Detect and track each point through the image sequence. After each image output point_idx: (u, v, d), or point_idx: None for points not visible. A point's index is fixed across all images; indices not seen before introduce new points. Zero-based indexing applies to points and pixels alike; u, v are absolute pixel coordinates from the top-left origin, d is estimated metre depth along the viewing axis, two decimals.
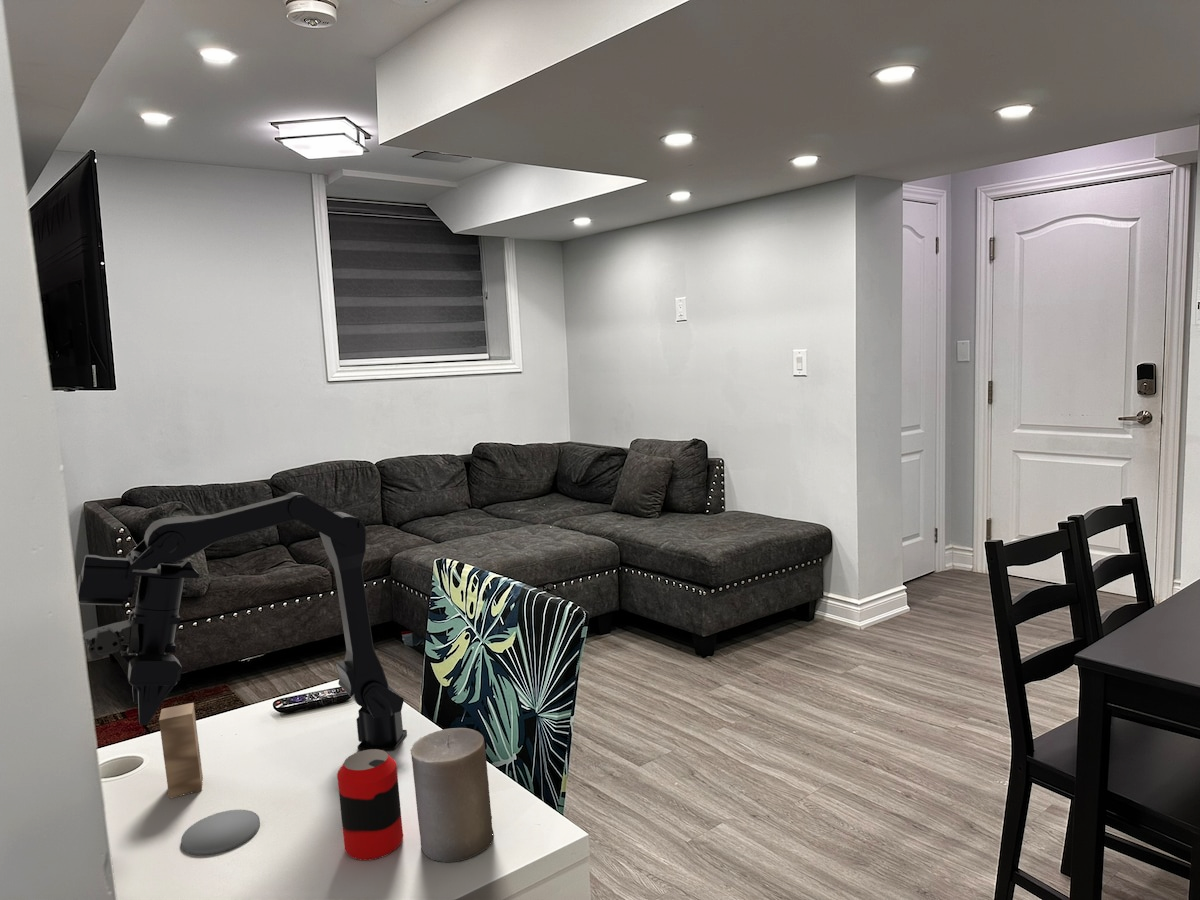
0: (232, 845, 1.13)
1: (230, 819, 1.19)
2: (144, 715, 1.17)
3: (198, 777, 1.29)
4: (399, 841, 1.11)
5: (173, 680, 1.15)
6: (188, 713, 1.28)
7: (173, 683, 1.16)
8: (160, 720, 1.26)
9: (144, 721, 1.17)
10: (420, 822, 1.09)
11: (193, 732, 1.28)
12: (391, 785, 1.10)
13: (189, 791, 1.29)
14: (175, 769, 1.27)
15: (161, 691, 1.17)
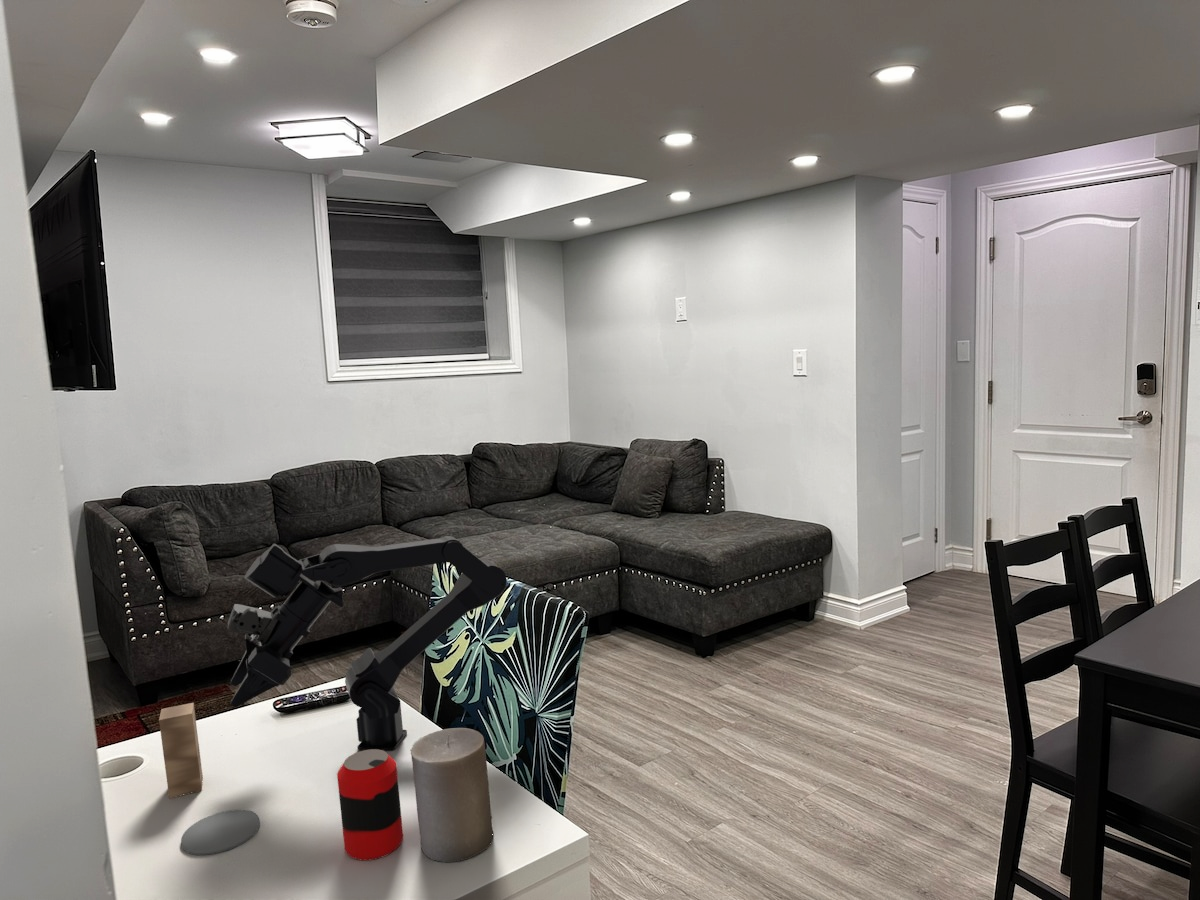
0: (232, 845, 1.13)
1: (230, 819, 1.19)
2: (238, 698, 1.27)
3: (198, 777, 1.29)
4: (399, 841, 1.11)
5: (279, 682, 1.25)
6: (188, 713, 1.28)
7: (276, 684, 1.27)
8: (160, 720, 1.26)
9: (235, 703, 1.27)
10: (420, 822, 1.09)
11: (193, 732, 1.28)
12: (391, 786, 1.10)
13: (189, 791, 1.29)
14: (175, 769, 1.27)
15: (263, 686, 1.28)
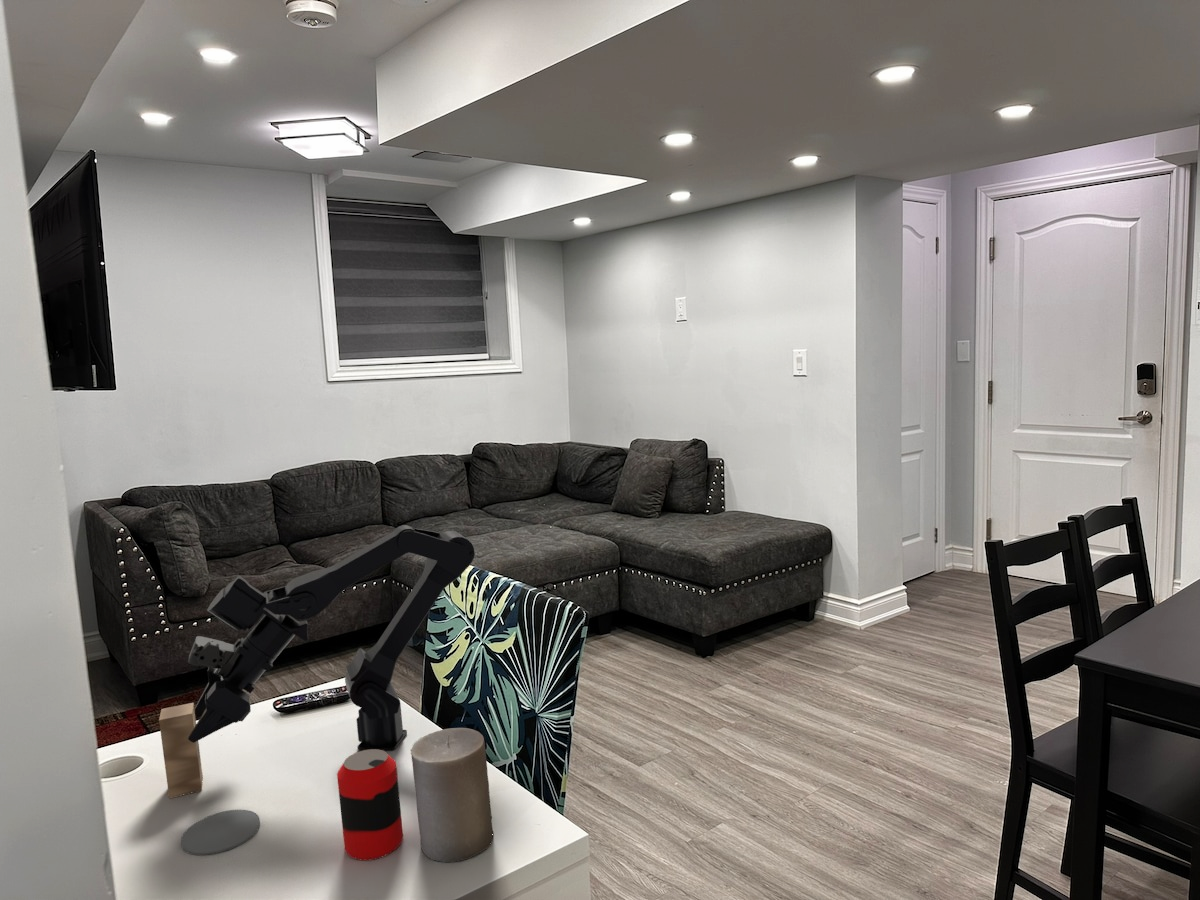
0: (232, 845, 1.13)
1: (230, 819, 1.19)
2: (196, 733, 1.25)
3: (198, 777, 1.29)
4: (399, 841, 1.11)
5: (237, 718, 1.24)
6: (188, 713, 1.28)
7: (235, 720, 1.25)
8: (160, 720, 1.26)
9: (193, 738, 1.26)
10: (420, 822, 1.09)
11: None
12: (391, 785, 1.10)
13: (189, 791, 1.29)
14: (175, 769, 1.27)
15: (221, 721, 1.26)
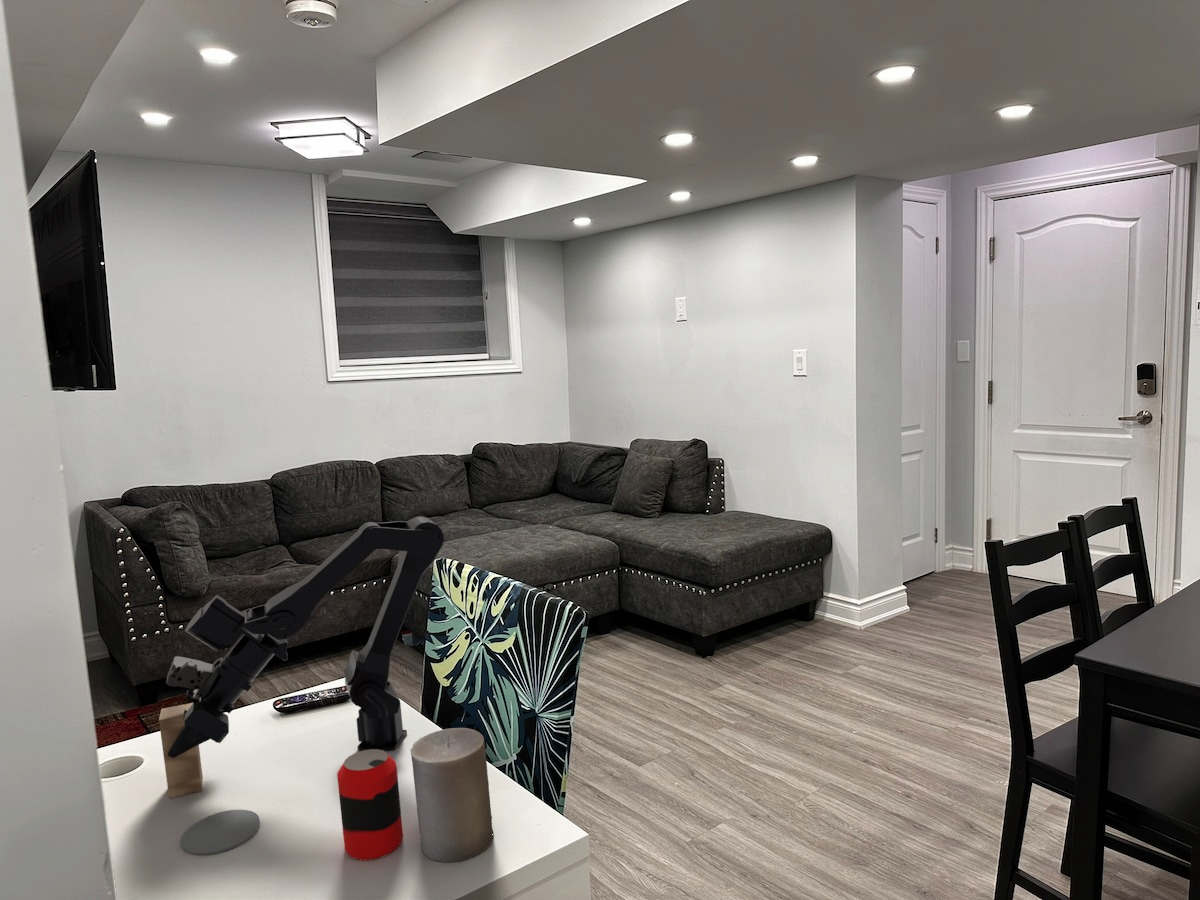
0: (232, 845, 1.13)
1: (230, 819, 1.19)
2: (175, 749, 1.26)
3: (198, 777, 1.29)
4: (399, 841, 1.11)
5: (215, 740, 1.23)
6: None
7: None
8: (160, 720, 1.26)
9: (172, 754, 1.27)
10: (420, 822, 1.09)
11: None
12: (391, 786, 1.10)
13: (189, 791, 1.29)
14: (175, 769, 1.27)
15: (200, 737, 1.27)
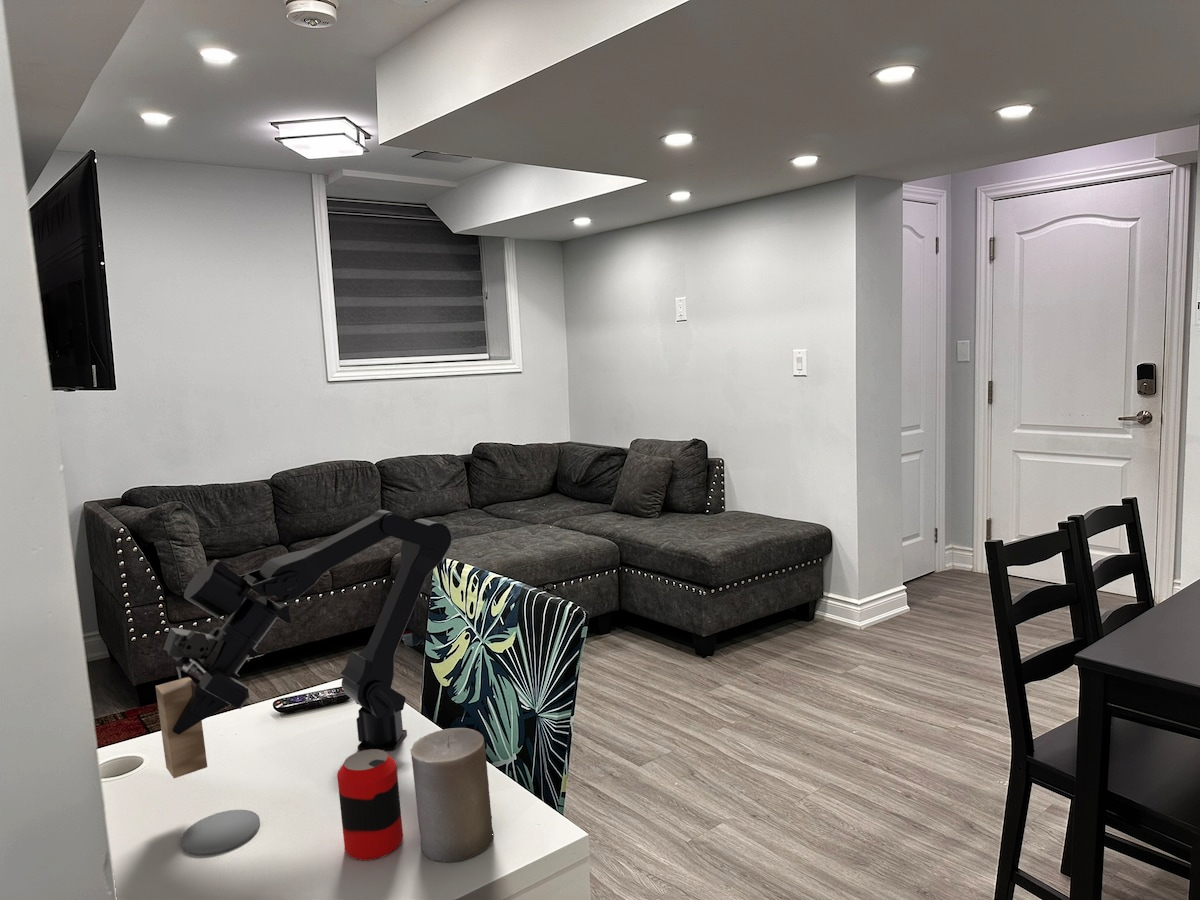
0: (232, 845, 1.13)
1: (230, 819, 1.19)
2: (182, 724, 1.19)
3: (204, 753, 1.22)
4: (399, 841, 1.11)
5: (237, 706, 1.17)
6: None
7: (227, 704, 1.20)
8: (164, 695, 1.18)
9: (178, 730, 1.19)
10: (420, 822, 1.09)
11: None
12: (391, 785, 1.10)
13: (194, 769, 1.21)
14: (179, 747, 1.19)
15: (210, 708, 1.20)
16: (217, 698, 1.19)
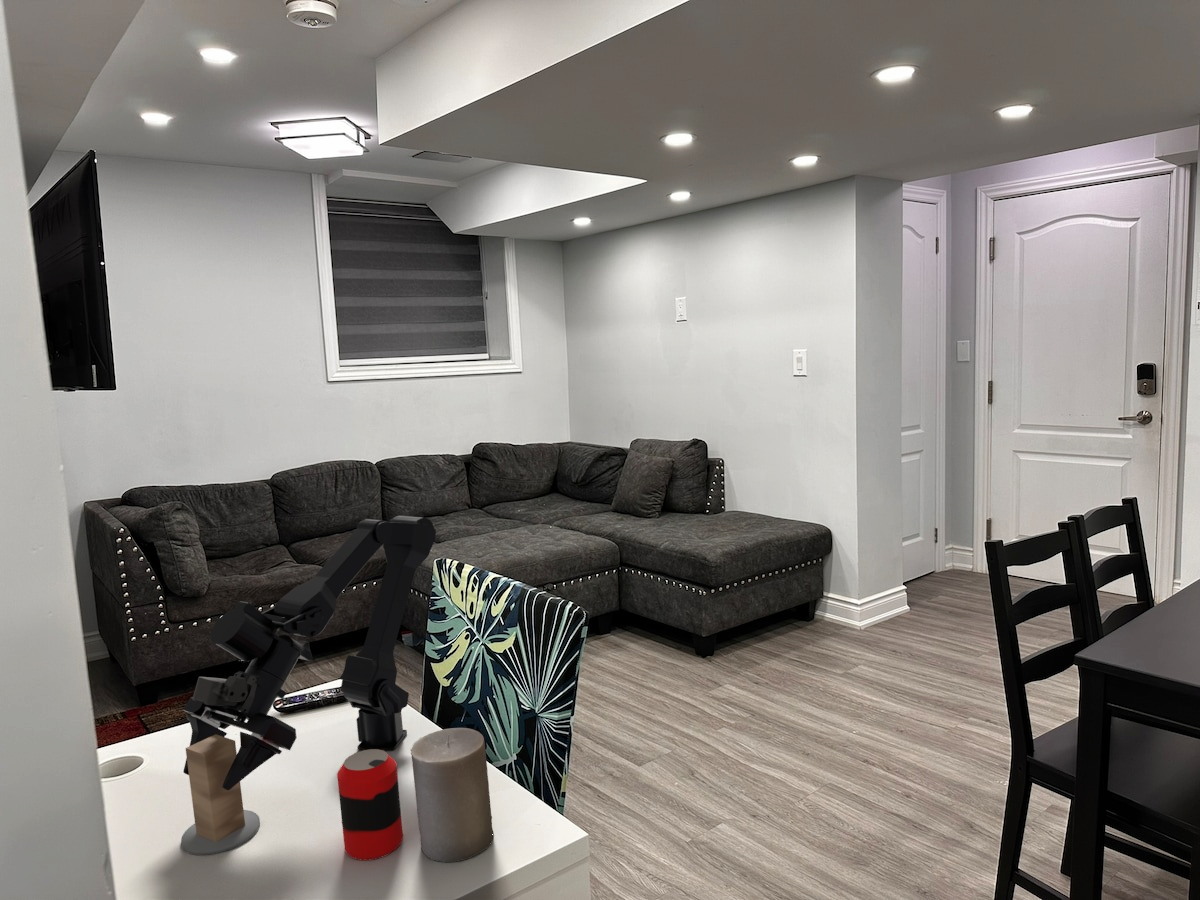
0: (232, 845, 1.13)
1: None
2: (232, 778, 1.13)
3: (242, 811, 1.17)
4: (399, 841, 1.11)
5: (288, 747, 1.15)
6: (229, 741, 1.16)
7: (280, 751, 1.16)
8: (206, 755, 1.12)
9: (228, 786, 1.13)
10: (420, 822, 1.09)
11: None
12: (391, 785, 1.10)
13: (234, 829, 1.16)
14: (220, 808, 1.14)
15: (260, 758, 1.15)
16: (271, 746, 1.14)
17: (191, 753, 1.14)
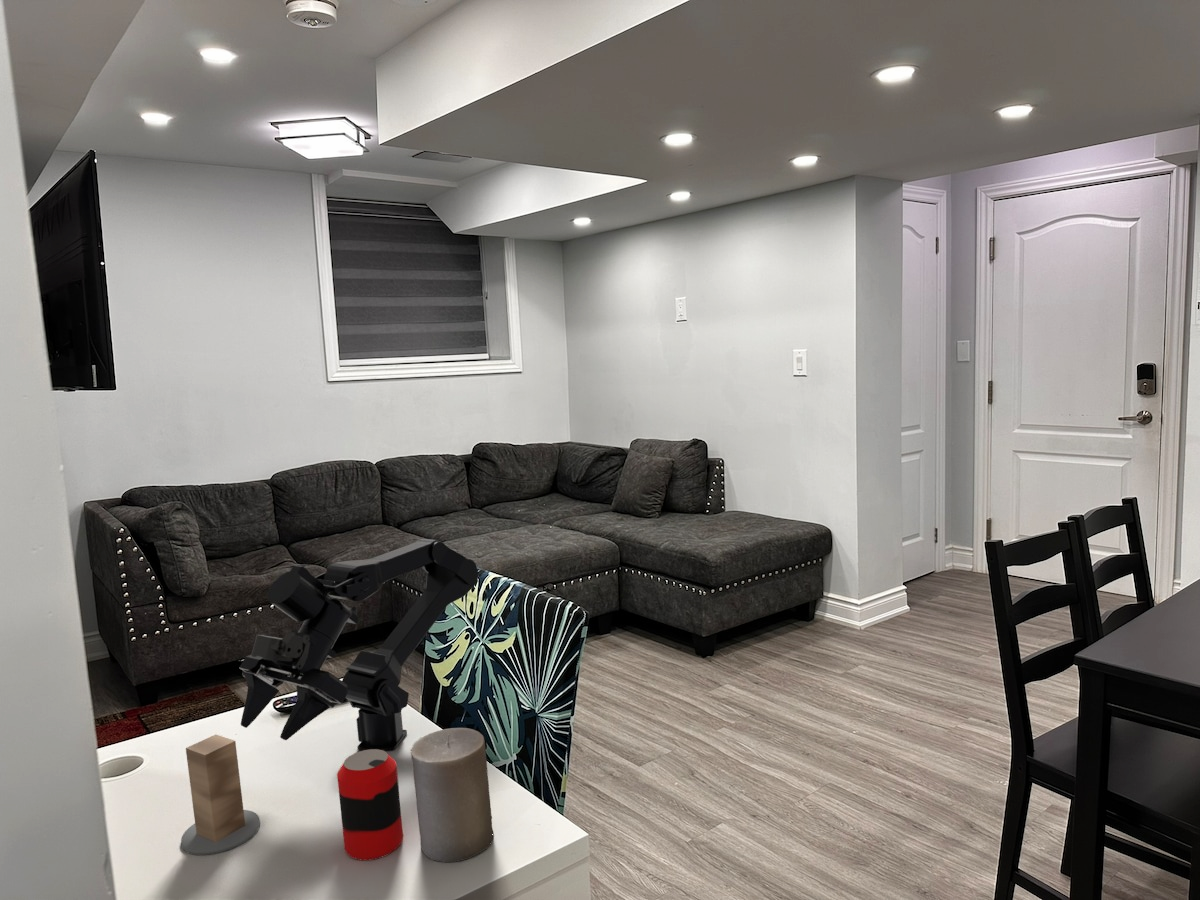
0: (232, 845, 1.13)
1: None
2: (290, 729, 1.20)
3: (242, 811, 1.17)
4: (399, 841, 1.11)
5: (341, 701, 1.23)
6: (229, 741, 1.16)
7: (333, 705, 1.23)
8: (206, 755, 1.12)
9: (286, 736, 1.20)
10: (420, 822, 1.09)
11: (236, 761, 1.16)
12: (391, 785, 1.10)
13: (234, 829, 1.16)
14: (220, 808, 1.14)
15: (314, 711, 1.23)
16: (325, 699, 1.22)
17: (191, 753, 1.14)
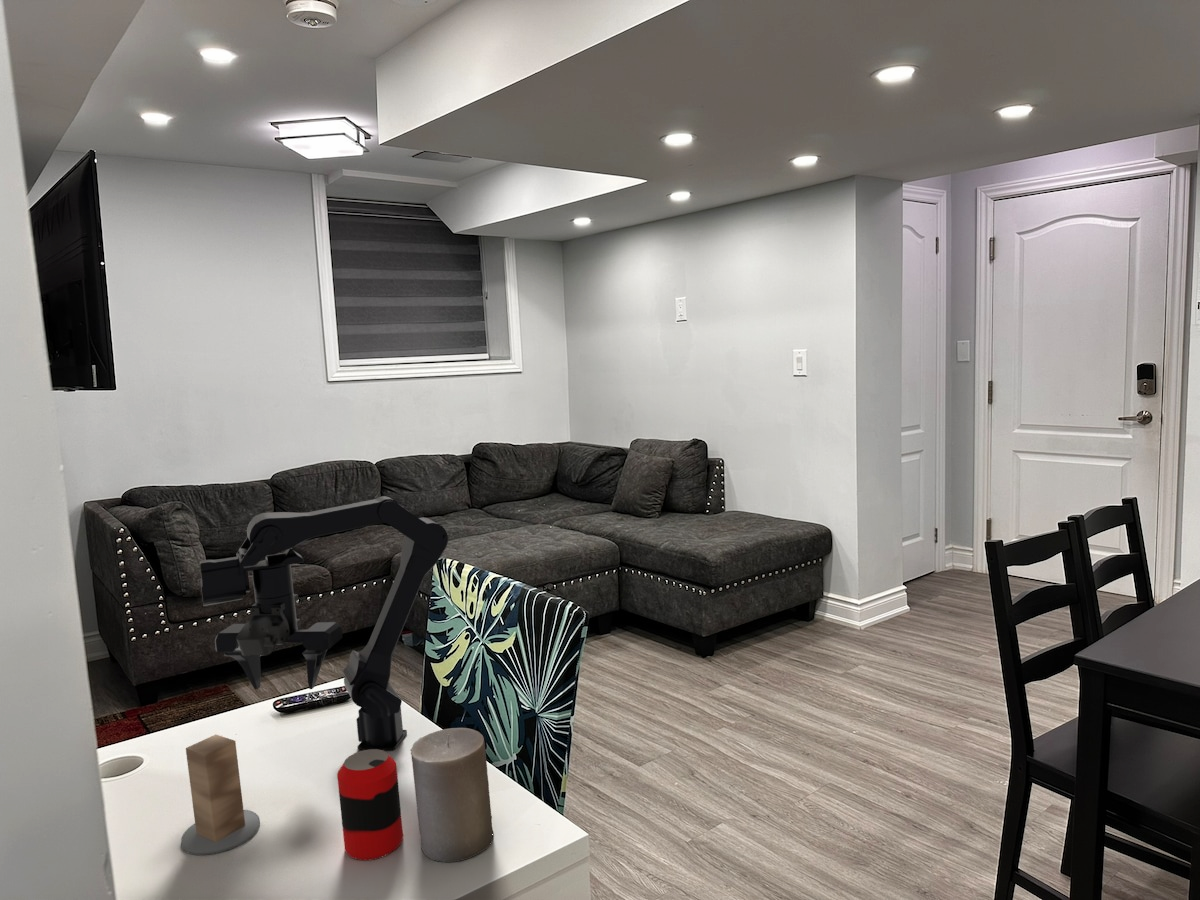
0: (232, 845, 1.13)
1: None
2: (314, 679, 1.33)
3: (242, 811, 1.17)
4: (399, 841, 1.11)
5: (341, 637, 1.34)
6: (229, 741, 1.16)
7: None
8: (206, 755, 1.12)
9: (313, 685, 1.33)
10: (420, 822, 1.09)
11: (236, 761, 1.16)
12: (391, 785, 1.10)
13: (234, 829, 1.16)
14: (220, 808, 1.14)
15: (322, 654, 1.34)
16: None
17: (191, 753, 1.14)
